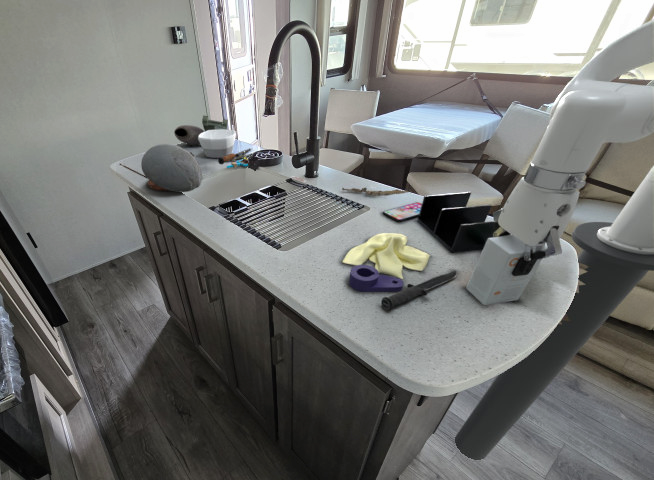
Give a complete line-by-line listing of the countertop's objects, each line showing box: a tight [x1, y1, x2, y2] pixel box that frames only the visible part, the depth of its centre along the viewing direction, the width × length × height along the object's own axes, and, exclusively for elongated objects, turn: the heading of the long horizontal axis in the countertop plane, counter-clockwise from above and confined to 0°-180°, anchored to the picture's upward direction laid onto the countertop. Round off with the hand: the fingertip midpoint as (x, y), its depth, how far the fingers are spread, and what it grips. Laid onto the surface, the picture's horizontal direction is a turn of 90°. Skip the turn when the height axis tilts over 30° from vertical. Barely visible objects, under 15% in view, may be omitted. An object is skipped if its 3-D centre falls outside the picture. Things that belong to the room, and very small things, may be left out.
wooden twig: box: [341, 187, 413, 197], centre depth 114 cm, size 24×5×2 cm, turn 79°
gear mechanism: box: [226, 150, 249, 169], centre depth 144 cm, size 20×5×9 cm
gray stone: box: [140, 143, 203, 193], centre depth 123 cm, size 23×22×10 cm
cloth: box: [342, 232, 431, 280], centre depth 82 cm, size 22×19×6 cm
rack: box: [416, 191, 495, 254], centre depth 89 cm, size 14×18×8 cm
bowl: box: [198, 129, 237, 159], centre depth 157 cm, size 18×18×9 cm
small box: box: [465, 234, 547, 306], centre depth 67 cm, size 8×6×13 cm
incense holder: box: [119, 163, 170, 192], centre depth 129 cm, size 21×30×11 cm
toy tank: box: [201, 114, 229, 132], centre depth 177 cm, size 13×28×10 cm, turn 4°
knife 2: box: [380, 270, 458, 311], centre depth 72 cm, size 24×5×3 cm, turn 114°
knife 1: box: [217, 148, 250, 165], centre depth 155 cm, size 25×3×5 cm
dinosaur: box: [229, 147, 255, 163], centre depth 152 cm, size 4×20×7 cm
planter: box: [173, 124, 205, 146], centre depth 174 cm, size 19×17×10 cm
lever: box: [348, 264, 405, 293], centre depth 74 cm, size 12×6×3 cm, turn 77°
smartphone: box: [382, 202, 422, 222], centre depth 102 cm, size 8×1×15 cm
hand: (506, 263), depth 66 cm, fingers closed on small box, 6 cm apart
